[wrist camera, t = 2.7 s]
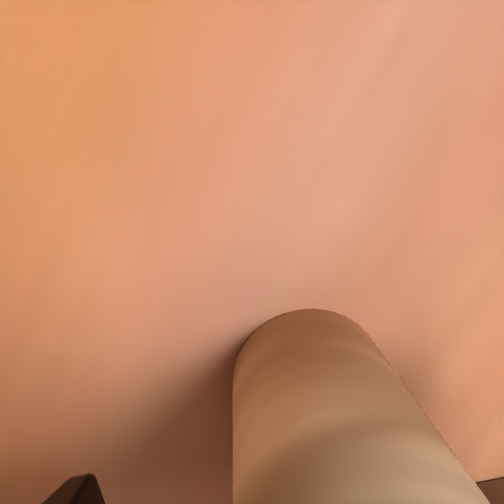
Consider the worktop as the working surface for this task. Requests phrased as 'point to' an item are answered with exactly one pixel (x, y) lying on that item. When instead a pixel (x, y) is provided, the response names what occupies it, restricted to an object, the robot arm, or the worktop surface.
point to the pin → (333, 422)
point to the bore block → (493, 490)
